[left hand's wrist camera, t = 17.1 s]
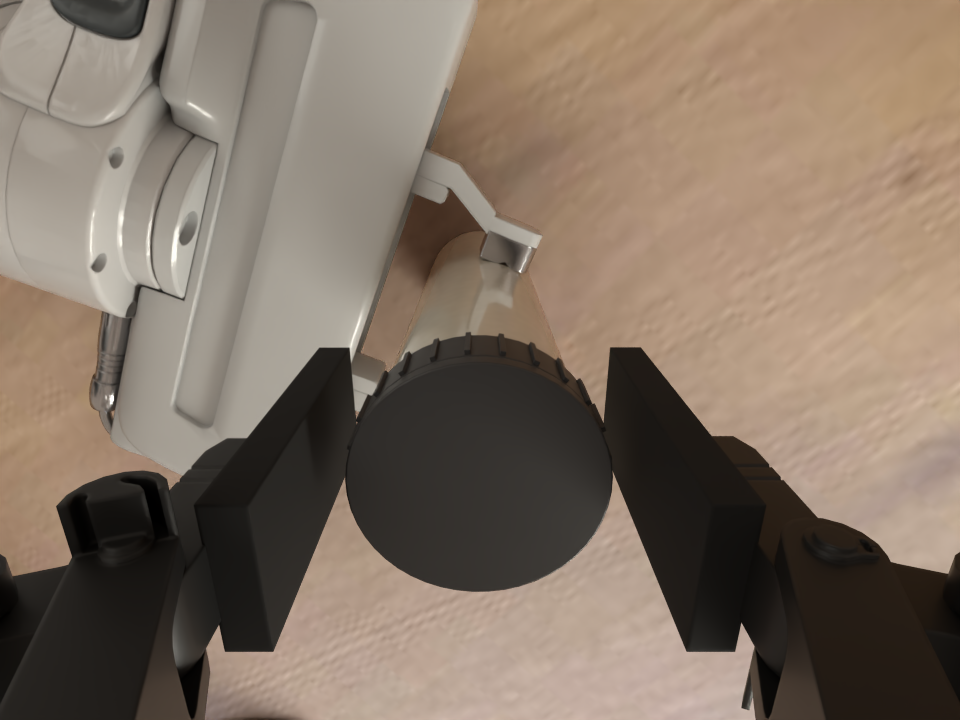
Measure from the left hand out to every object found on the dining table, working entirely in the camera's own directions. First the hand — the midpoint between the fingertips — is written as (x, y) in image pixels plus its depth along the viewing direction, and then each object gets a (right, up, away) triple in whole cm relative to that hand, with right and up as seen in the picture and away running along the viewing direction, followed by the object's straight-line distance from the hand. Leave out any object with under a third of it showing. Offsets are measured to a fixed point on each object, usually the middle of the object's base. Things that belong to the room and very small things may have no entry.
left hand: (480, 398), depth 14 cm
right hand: (+1, +2, +7) cm, 7 cm away
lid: (0, -1, -3) cm, 4 cm away
